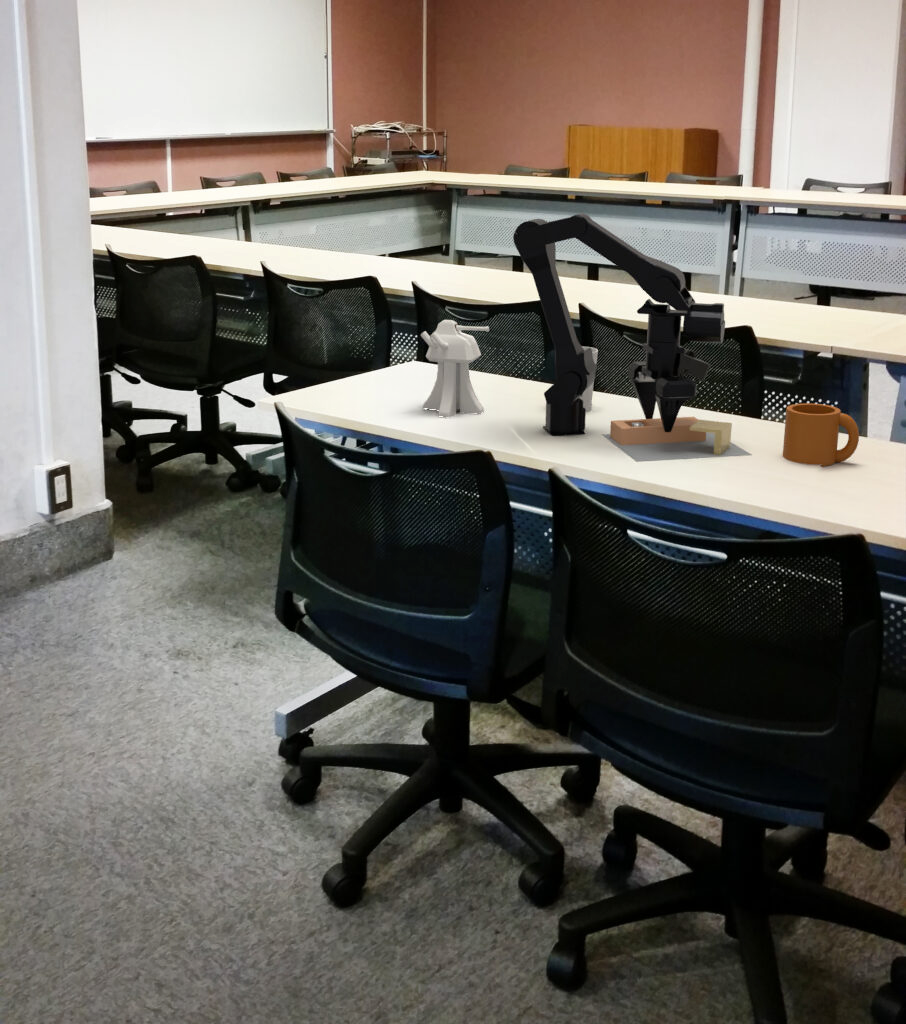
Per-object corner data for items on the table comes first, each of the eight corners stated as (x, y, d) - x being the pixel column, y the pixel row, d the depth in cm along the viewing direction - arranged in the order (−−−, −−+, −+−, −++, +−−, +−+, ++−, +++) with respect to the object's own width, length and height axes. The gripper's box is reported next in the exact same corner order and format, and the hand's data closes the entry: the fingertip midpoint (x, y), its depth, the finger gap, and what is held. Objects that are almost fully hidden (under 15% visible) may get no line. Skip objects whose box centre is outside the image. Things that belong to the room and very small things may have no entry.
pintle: (633, 441, 214) (634, 425, 213) (629, 438, 216) (630, 422, 215) (644, 440, 215) (644, 424, 214) (640, 438, 216) (640, 422, 215)
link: (621, 445, 212) (621, 428, 211) (610, 436, 217) (610, 420, 216) (705, 440, 215) (706, 424, 214) (692, 432, 220) (693, 416, 220)
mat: (636, 463, 202) (636, 461, 202) (601, 436, 219) (601, 434, 219) (751, 457, 206) (752, 454, 206) (708, 430, 223) (708, 428, 223)
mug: (846, 473, 197) (851, 420, 194) (775, 462, 203) (778, 411, 201) (861, 459, 204) (866, 408, 201) (792, 450, 211) (796, 400, 208)
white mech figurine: (478, 420, 231) (479, 327, 225) (414, 415, 235) (413, 323, 229) (496, 407, 241) (497, 318, 236) (434, 402, 245) (434, 314, 240)
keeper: (688, 451, 208) (689, 426, 207) (698, 443, 213) (700, 419, 212) (720, 455, 206) (722, 430, 204) (729, 447, 211) (731, 423, 209)
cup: (593, 414, 235) (596, 354, 232) (553, 412, 237) (555, 352, 233) (597, 405, 243) (599, 346, 239) (558, 403, 244) (560, 345, 241)
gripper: (728, 347, 203) (721, 436, 208) (685, 329, 221) (680, 412, 226) (666, 350, 201) (661, 439, 206) (628, 331, 219) (624, 414, 223)
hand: (658, 425), depth 215 cm, fingers open, 9 cm apart
